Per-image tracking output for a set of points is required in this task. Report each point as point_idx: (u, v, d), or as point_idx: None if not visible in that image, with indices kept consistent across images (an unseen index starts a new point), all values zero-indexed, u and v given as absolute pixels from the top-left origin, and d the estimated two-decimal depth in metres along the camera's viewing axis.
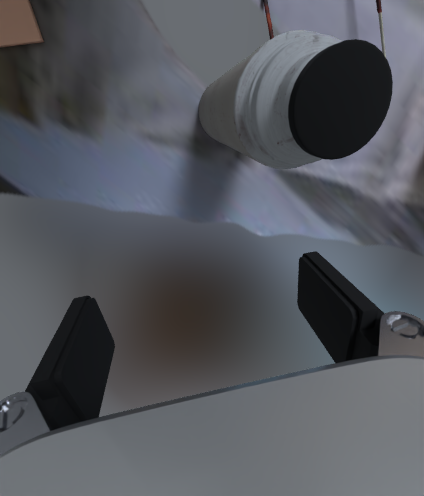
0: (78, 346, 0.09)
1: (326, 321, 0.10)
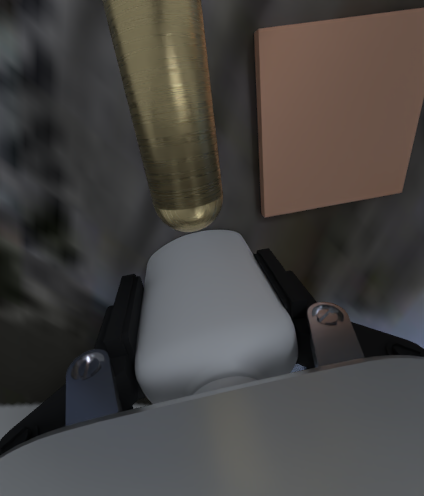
0: (135, 315, 0.10)
1: None
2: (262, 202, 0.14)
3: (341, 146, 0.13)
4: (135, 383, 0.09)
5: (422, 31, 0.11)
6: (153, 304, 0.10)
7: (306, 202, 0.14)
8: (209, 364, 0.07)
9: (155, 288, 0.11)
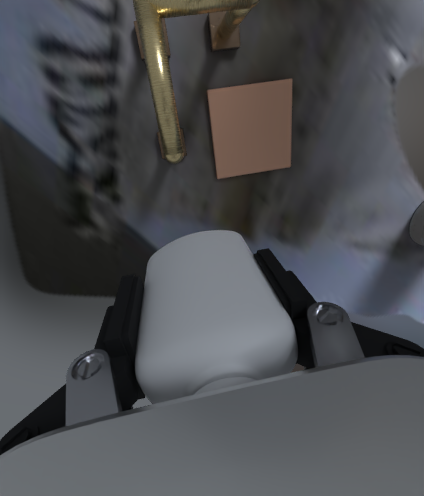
0: (135, 315, 0.10)
1: None
2: (216, 171, 0.27)
3: (253, 142, 0.26)
4: (135, 383, 0.09)
5: (284, 89, 0.24)
6: (153, 305, 0.10)
7: (239, 171, 0.27)
8: (209, 365, 0.07)
9: (155, 288, 0.11)
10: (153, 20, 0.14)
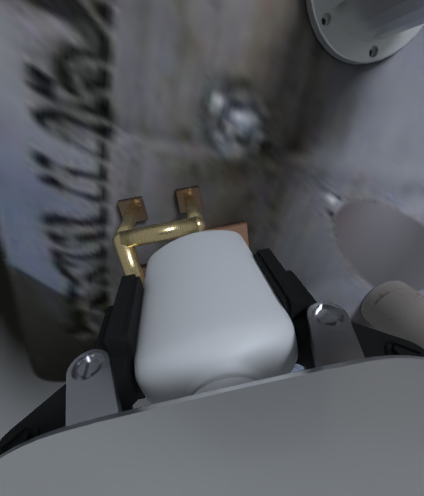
0: (135, 315, 0.10)
1: None
2: None
3: None
4: (135, 383, 0.09)
5: (240, 230, 0.30)
6: (153, 305, 0.10)
7: None
8: (209, 365, 0.07)
9: (155, 289, 0.11)
10: (128, 253, 0.20)
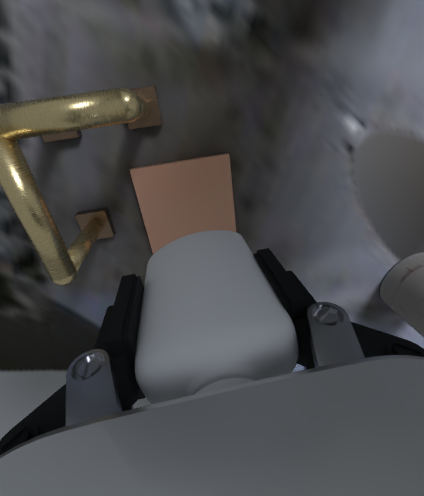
0: (135, 315, 0.10)
1: None
2: None
3: (190, 219, 0.23)
4: (135, 383, 0.09)
5: (220, 165, 0.21)
6: (153, 305, 0.10)
7: None
8: (209, 365, 0.07)
9: (155, 289, 0.11)
10: None
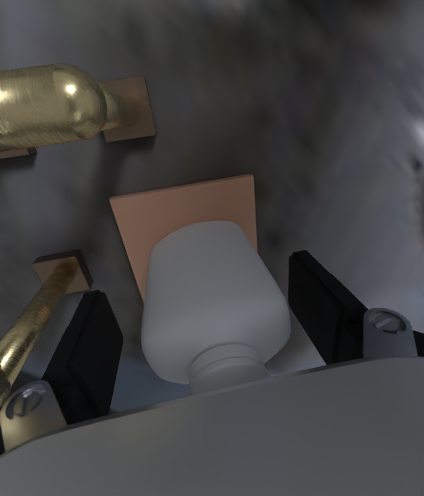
0: (91, 338, 0.09)
1: (314, 318, 0.10)
2: None
3: None
4: (87, 415, 0.08)
5: (241, 191, 0.15)
6: (157, 287, 0.11)
7: None
8: (209, 334, 0.08)
9: (158, 273, 0.12)
10: None
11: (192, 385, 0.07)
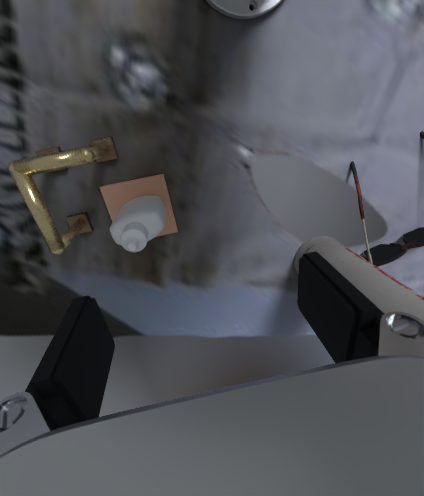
0: (78, 346, 0.09)
1: (326, 321, 0.10)
2: None
3: None
4: None
5: (158, 181, 0.32)
6: (117, 216, 0.28)
7: None
8: (129, 221, 0.25)
9: (119, 213, 0.29)
10: (22, 179, 0.23)
11: None
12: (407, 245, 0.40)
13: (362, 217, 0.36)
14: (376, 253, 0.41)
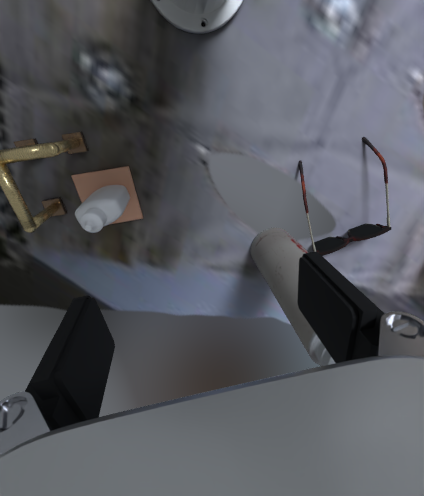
0: (78, 346, 0.09)
1: (326, 321, 0.10)
2: None
3: None
4: None
5: (124, 172, 0.37)
6: (83, 202, 0.33)
7: None
8: (90, 206, 0.30)
9: (86, 199, 0.34)
10: None
11: None
12: (349, 238, 0.45)
13: (306, 211, 0.41)
14: (323, 244, 0.46)
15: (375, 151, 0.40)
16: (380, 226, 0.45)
